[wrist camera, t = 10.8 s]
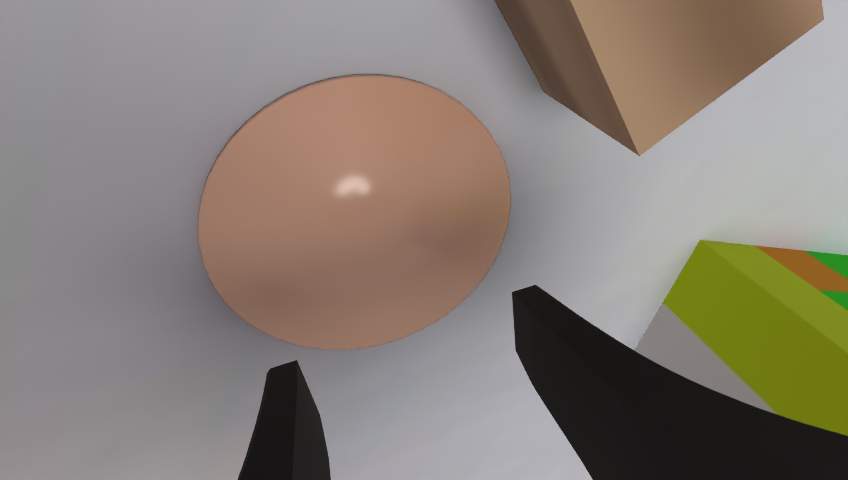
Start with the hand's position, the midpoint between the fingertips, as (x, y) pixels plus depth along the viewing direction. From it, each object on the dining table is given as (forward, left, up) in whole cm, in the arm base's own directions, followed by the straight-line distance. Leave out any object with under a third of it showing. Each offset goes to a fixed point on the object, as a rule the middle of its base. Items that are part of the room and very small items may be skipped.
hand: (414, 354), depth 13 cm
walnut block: (+10, +1, -6) cm, 12 cm away
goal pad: (0, 0, -6) cm, 6 cm away
